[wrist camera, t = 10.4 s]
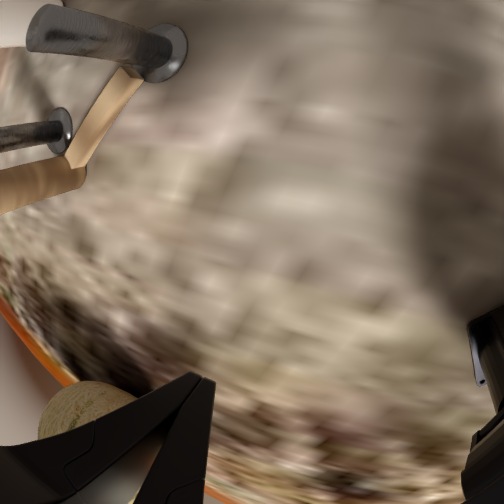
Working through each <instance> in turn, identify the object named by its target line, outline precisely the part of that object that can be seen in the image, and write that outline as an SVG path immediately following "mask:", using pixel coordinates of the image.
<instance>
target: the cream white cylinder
mask: <svg viewBox="0 0 504 504" xmlns="http://www.w3.org/2000/svg"><path fill="white" fill-rule="evenodd" d="M45 4H54V5H59V6H63V3H62V1H61V0H0V48H8V47H26V33H27V29H28V26H29V24H30V22H31V20H32V18H33V16H34V15H35V13H36V12H37V11H38V10H39V9H40V8H41V7H42V6H43V5H45ZM63 7H64V6H63Z"/></svg>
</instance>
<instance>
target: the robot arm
mask: <svg viewBox="0 0 504 504" xmlns="http://www.w3.org/2000/svg"><path fill="white" fill-rule="evenodd" d="M475 326H476V328H475V329H472V328H473V327H475ZM467 330H468V335H469V341H470V346H471V352H472V358H473V364H474V371H475V379H476V383H477V386H484V385H486V384H487V385H488V388H489V391H490V395H491V398H492V401H493V404H494V408H495V411H496V415H495V416H494V417H493V418H492V419H491V420H490V421H489V422H488V423H487V424H486V425H485V426H484V427H483V428H482V429H481V430H479V431H477V432H476V433H475V434H474V435H473V436H472V442H471V449H470V453H469V455H468V458H467V462H466V466H465V469H464V470H463V471H462V472H461V487H462V491H463V496H464V498H465V502H463V503H461V504H504V306H502V307H500V308H498V309H496V310H494V311H492V312H490V313H488V314H486V315H484V316H481V317H479V318H477V319H475V320H473V321H471V322H470V323H469V324H468V326H467ZM481 380H482V381H481ZM215 390H216V382H215V381H213V380H211V379H208V378H206V377H204V378H203V377H202V376H201V375H199V374H197V373H195V372H192V371H190V372H187V373H185V374H184V375H182V376H180V377H178V378H176V379H174V380H173V381H171V382H169V383H167V384H165V385H163V386H161V387H159V388H157V389H156V390H154V391H152V392H150V393H148V394H146V395H144V396H142V397H140V398H138V399H136V400H134V401H132V402H130V403H128V404H126V405H124V406H122V407H120V408H118V409H116V410H114V411H112V412H110V413H108V414H105V415H103V416H101V417H99V418H97V419H96V420H92V421H90V422H88V423H86V424H84V425H81V426H79V427H77V428H74V429H72V430H69V431H66V432H63V433H60V434H57V435H54V436H50V437H47V438H43V439H39V440H36V441H32V442H28V443H24V444H20V445H14V446H0V504H128V503H129V501H130V500H131V499H132V498H133V496H134V495H135V494H136V492H137V491H138V490H139V489H140V490H139V492H138V494H137V496H136V498H135V500H134V502H133V504H203V498H204V486H205V475H206V466H207V457H208V448H209V440H210V431H211V423H212V414H213V406H214V398H215ZM140 487H141V488H140Z"/></svg>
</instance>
